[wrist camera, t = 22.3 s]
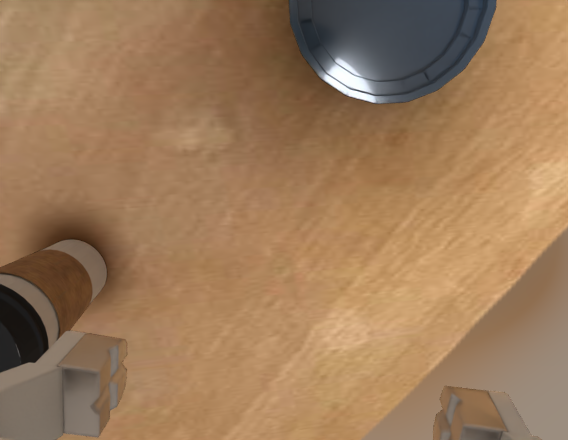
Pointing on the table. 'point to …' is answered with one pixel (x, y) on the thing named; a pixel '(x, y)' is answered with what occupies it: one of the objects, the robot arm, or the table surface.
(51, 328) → the coffee cup
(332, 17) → the bowl
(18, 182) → the table surface
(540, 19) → the table surface
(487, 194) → the table surface
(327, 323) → the table surface
